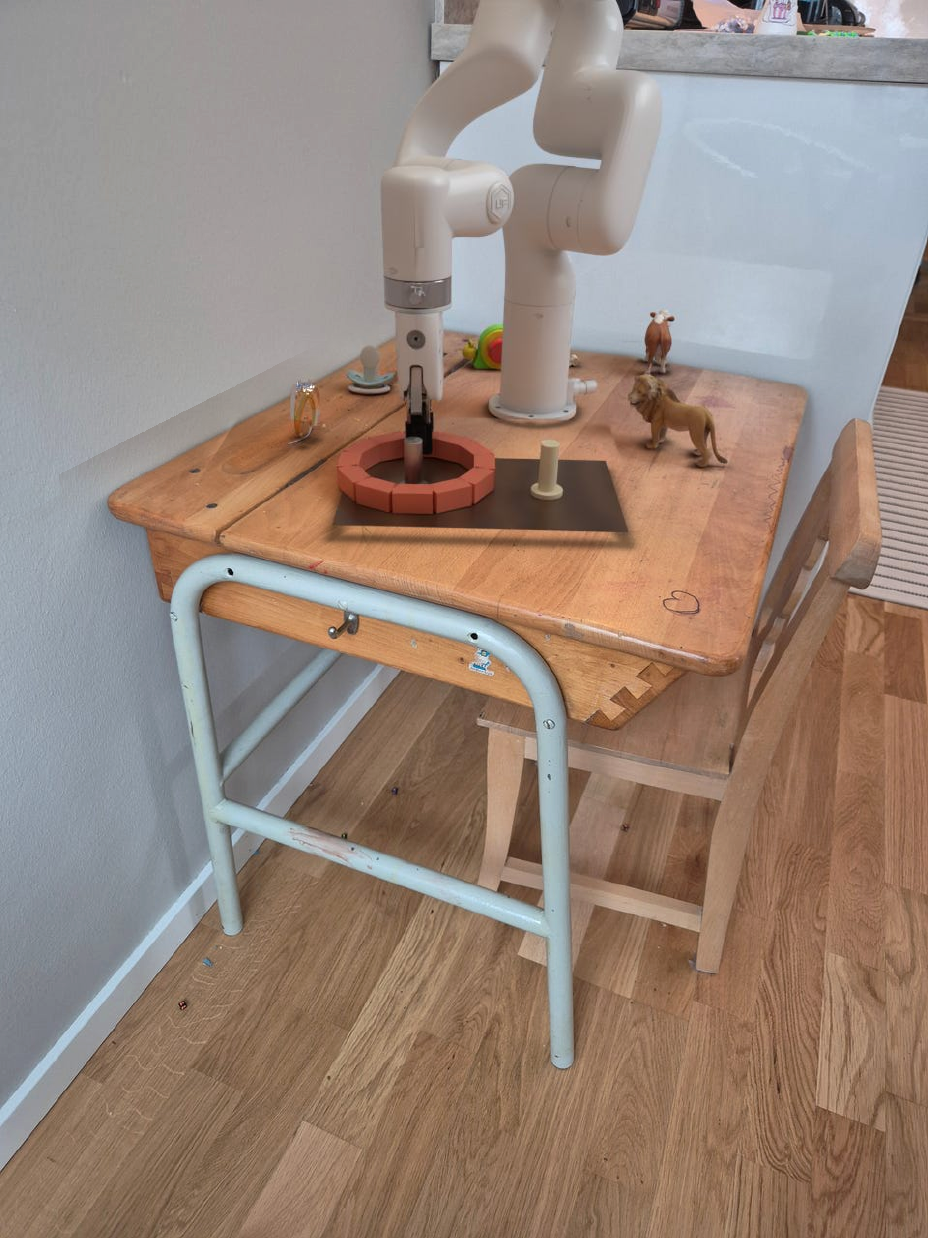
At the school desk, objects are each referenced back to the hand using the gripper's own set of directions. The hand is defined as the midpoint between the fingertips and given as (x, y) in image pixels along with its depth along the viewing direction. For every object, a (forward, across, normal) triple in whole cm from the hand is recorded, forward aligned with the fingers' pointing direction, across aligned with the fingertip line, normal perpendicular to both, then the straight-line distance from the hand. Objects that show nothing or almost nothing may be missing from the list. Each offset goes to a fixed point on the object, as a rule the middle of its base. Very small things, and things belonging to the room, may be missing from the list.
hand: (420, 447), depth 105 cm
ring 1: (+3, +7, +15) cm, 17 cm away
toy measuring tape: (+3, +42, -14) cm, 45 cm away
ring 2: (+1, -8, 0) cm, 8 cm away
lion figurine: (+3, +6, -32) cm, 33 cm away
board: (+2, -10, -7) cm, 13 cm away
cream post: (+1, -11, -15) cm, 18 cm away
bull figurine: (+3, +43, -37) cm, 57 cm away
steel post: (+1, -11, 0) cm, 11 cm away
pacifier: (+3, +28, +9) cm, 30 cm away
